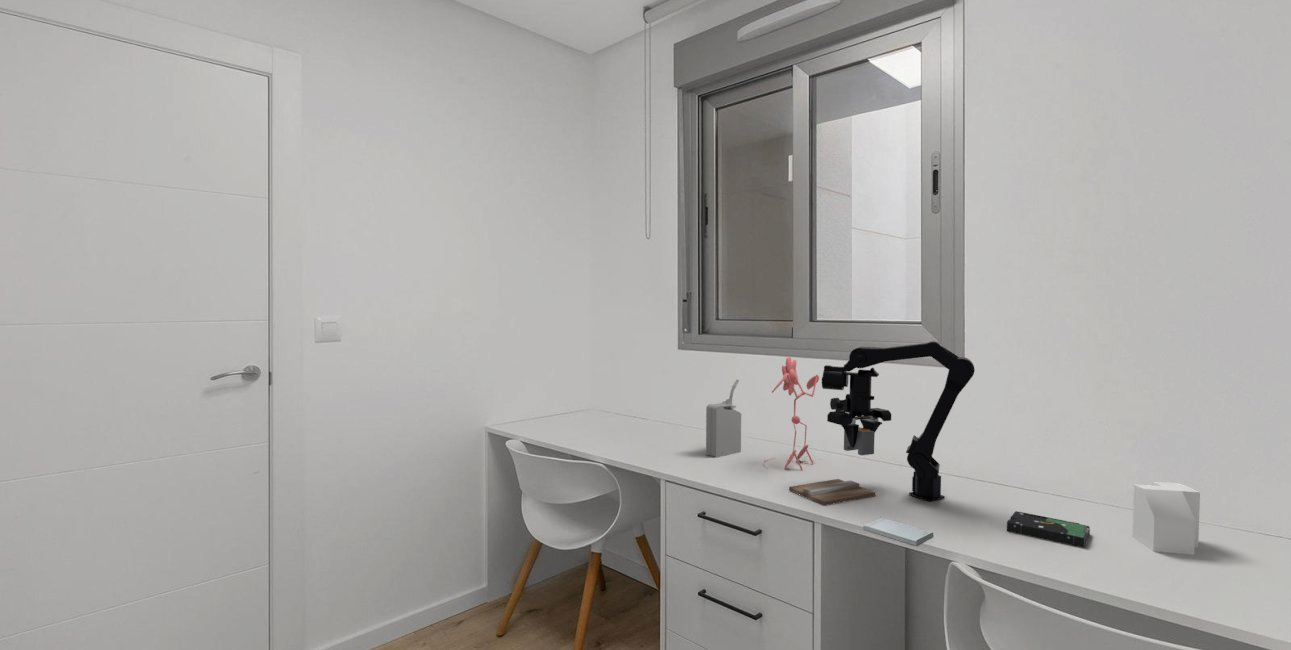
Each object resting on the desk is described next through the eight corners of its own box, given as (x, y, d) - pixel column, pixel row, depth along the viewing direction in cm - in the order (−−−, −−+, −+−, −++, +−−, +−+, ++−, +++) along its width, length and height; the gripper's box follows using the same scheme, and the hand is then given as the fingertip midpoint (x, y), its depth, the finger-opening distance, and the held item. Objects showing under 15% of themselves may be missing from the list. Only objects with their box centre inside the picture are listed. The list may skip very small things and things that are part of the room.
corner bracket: (1178, 536, 138) (1180, 483, 137) (1212, 556, 126) (1215, 499, 126) (1124, 531, 140) (1125, 480, 140) (1153, 551, 129) (1155, 495, 128)
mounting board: (875, 495, 165) (875, 488, 165) (824, 505, 157) (824, 497, 157) (838, 482, 178) (838, 475, 178) (789, 490, 170) (789, 483, 170)
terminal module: (873, 454, 170) (874, 430, 170) (861, 455, 168) (862, 431, 168) (855, 448, 177) (856, 425, 176) (843, 449, 175) (844, 426, 175)
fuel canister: (735, 448, 219) (735, 378, 218) (745, 450, 216) (746, 380, 215) (705, 454, 209) (705, 382, 209) (716, 457, 206) (716, 383, 205)
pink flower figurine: (825, 459, 204) (824, 354, 203) (794, 476, 183) (793, 360, 182) (782, 453, 213) (781, 353, 212) (748, 469, 192) (746, 358, 191)
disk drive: (1006, 534, 140) (1085, 550, 130) (1006, 522, 140) (1086, 537, 130) (1014, 521, 148) (1090, 536, 138) (1014, 510, 148) (1090, 524, 138)
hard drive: (933, 531, 137) (881, 516, 146) (915, 541, 131) (863, 524, 141) (933, 539, 137) (881, 523, 146) (915, 548, 132) (862, 531, 141)
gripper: (864, 386, 183) (863, 437, 184) (814, 389, 175) (813, 443, 176) (893, 391, 173) (891, 446, 173) (842, 394, 165) (840, 452, 166)
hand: (858, 446), depth 172 cm, fingers closed on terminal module, 4 cm apart
